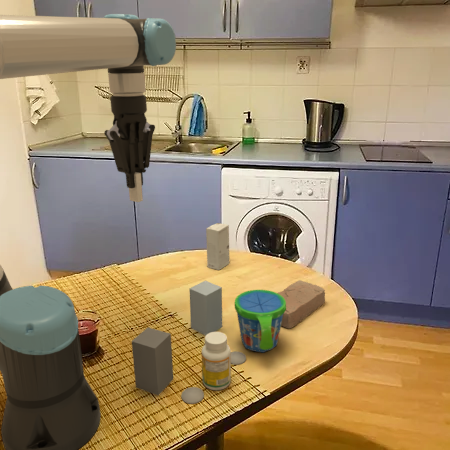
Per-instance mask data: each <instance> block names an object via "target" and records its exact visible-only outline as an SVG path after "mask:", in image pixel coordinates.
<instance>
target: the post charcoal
mask: <svg viewBox="0 0 450 450" xmlns="http://www.w3.org/2000/svg"><path fill="white" fill-rule="evenodd" d="M131 348H132V349H131V353H132V360H133V371H134V374H133V375H134V384H135V388H136V389H138V390H141V391H144V392H147V393H150V394H153V395H155V396H160V395H161V394H162V392H164V391H165V389H166V388H167V387H168V386H169V385H170V384H171V383H172V381H174V370H173V369H174V368H173V367H174V365H173V349H172V333H170V332H166V331H162V330H159V329H156V328H152V327H147V328H146V329H144V330H143V331H142V332H141V333H140V334H138V335H137V336H136V337H134V339H133V340H131Z"/></svg>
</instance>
